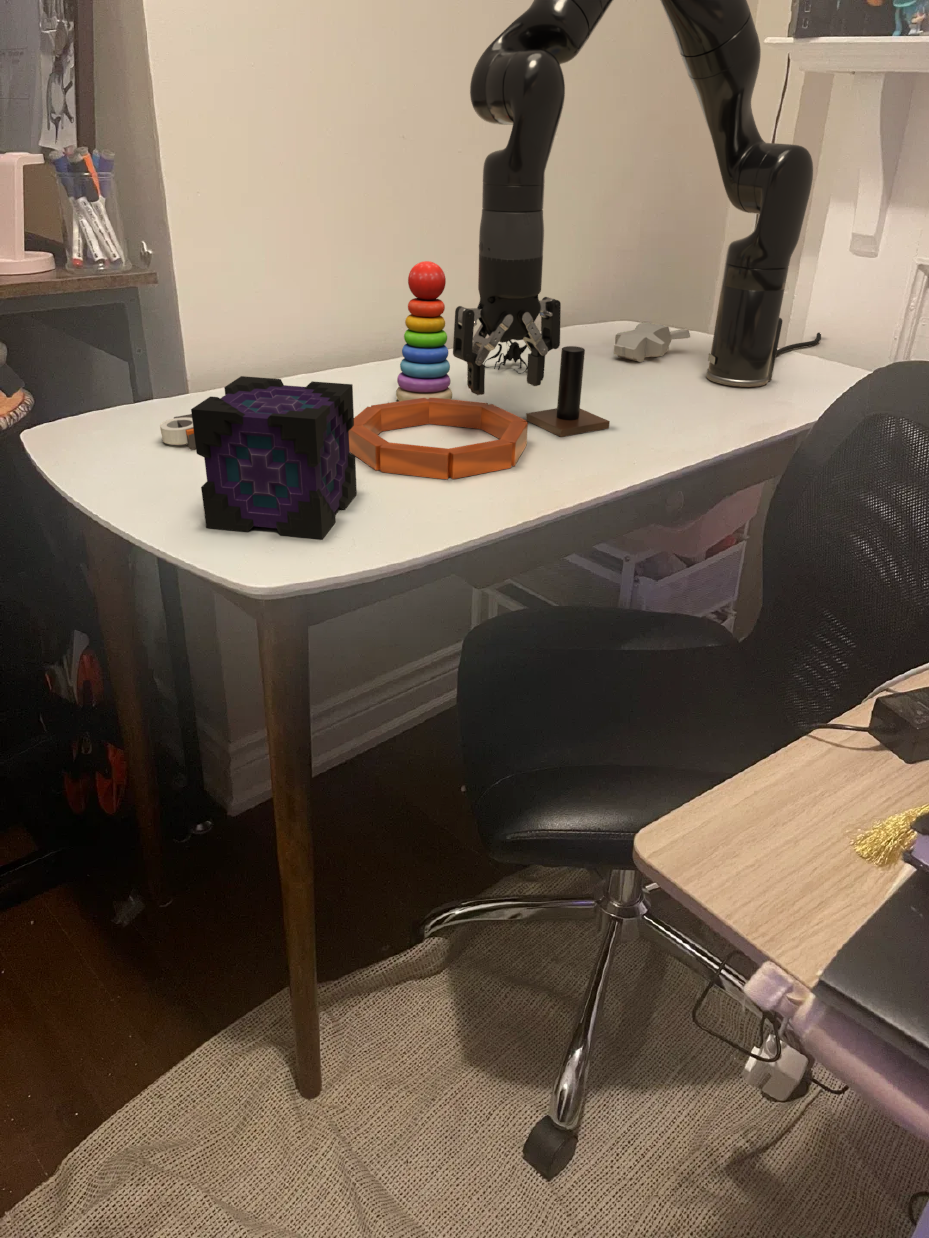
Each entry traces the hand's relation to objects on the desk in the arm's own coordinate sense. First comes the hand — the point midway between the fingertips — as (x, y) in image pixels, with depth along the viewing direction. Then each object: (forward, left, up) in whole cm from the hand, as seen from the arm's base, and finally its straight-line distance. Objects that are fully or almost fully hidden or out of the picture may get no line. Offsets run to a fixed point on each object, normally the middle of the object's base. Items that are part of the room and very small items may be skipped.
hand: (506, 389), depth 113 cm
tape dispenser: (+32, -16, -6) cm, 36 cm away
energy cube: (+34, +10, -6) cm, 36 cm away
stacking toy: (+2, -18, -6) cm, 19 cm away
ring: (+10, 0, -6) cm, 12 cm away
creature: (-19, -28, -6) cm, 35 cm away
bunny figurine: (-46, -25, -6) cm, 53 cm away
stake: (-10, 0, -6) cm, 12 cm away
